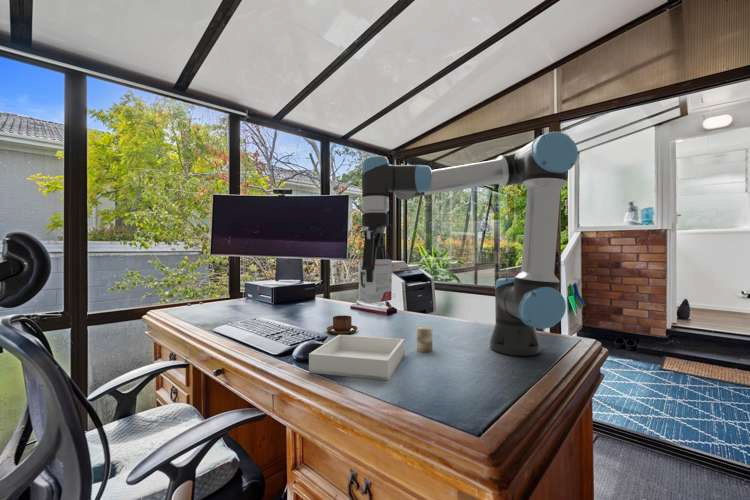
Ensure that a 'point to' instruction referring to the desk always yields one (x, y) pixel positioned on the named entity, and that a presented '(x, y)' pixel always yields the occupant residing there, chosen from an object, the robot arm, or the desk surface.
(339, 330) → the cup and saucer
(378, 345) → the tray
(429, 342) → the birch cylinder
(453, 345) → the desk surface
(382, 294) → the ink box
